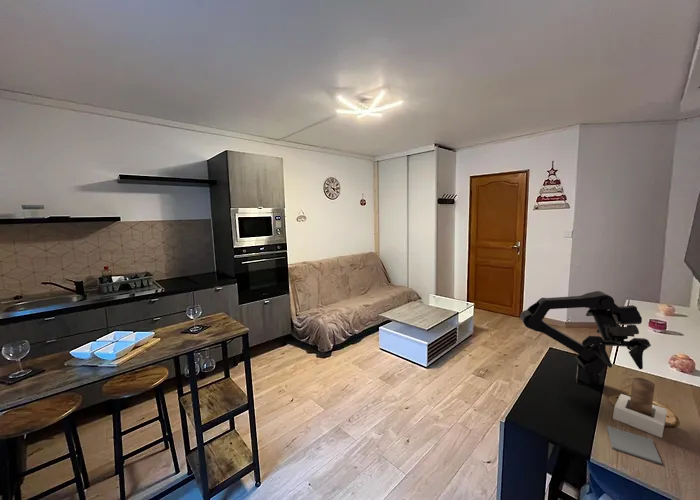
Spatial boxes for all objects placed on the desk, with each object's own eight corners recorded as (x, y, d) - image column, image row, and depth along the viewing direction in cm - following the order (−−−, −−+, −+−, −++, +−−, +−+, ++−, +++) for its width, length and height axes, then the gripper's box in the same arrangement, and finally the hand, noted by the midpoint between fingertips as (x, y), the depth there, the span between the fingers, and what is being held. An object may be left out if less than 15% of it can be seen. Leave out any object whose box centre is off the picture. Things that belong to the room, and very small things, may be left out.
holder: (612, 418, 97) (614, 407, 96) (619, 404, 104) (620, 393, 103) (661, 437, 88) (663, 425, 88) (665, 421, 95) (667, 409, 95)
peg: (630, 421, 95) (634, 383, 94) (626, 412, 99) (631, 375, 98) (651, 427, 93) (656, 388, 91) (647, 418, 97) (652, 380, 95)
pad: (612, 448, 85) (612, 446, 84) (606, 427, 93) (607, 425, 93) (661, 464, 79) (662, 463, 79) (651, 440, 87) (651, 439, 87)
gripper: (589, 314, 106) (608, 358, 97) (649, 316, 104) (675, 362, 94) (575, 327, 115) (590, 369, 106) (630, 329, 112) (651, 372, 103)
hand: (626, 368), depth 102 cm, fingers open, 9 cm apart
